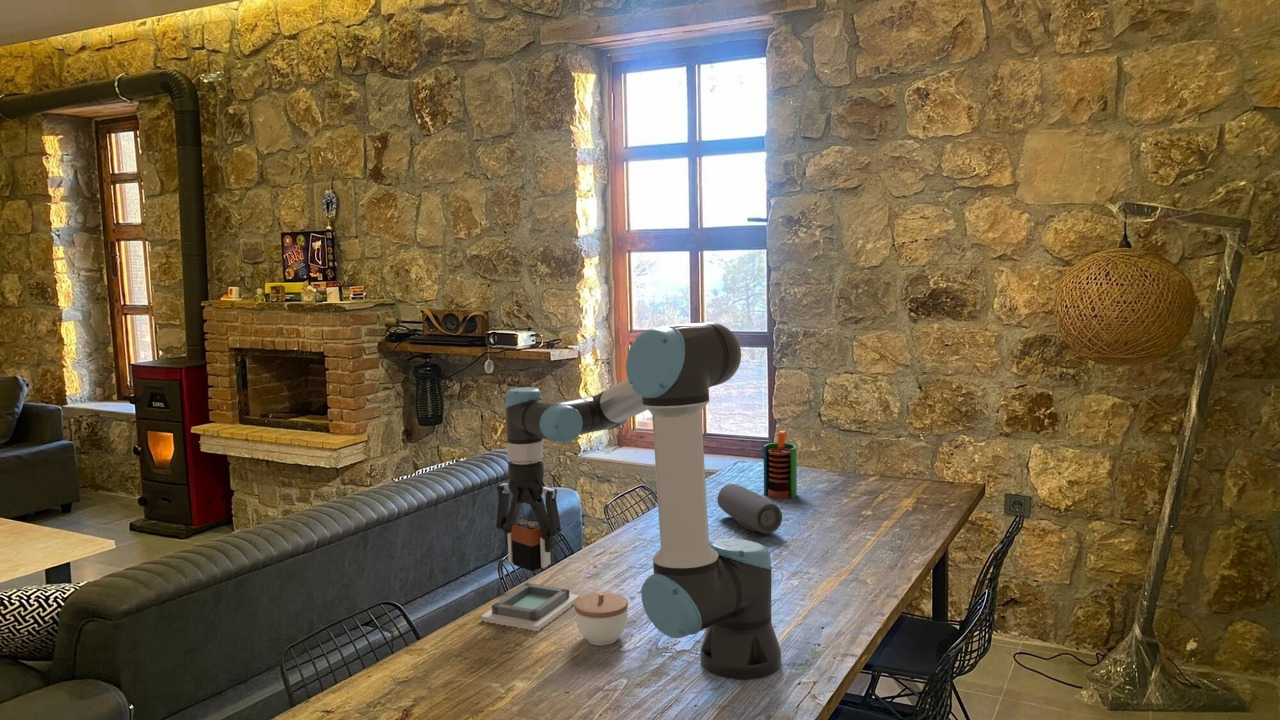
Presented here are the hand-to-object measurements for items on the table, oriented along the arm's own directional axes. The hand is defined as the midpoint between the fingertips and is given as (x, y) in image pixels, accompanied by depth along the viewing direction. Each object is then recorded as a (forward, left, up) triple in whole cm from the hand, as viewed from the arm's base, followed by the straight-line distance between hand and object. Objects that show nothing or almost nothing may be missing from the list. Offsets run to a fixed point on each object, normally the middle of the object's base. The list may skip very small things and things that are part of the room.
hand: (529, 563), depth 198 cm
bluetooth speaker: (+74, -25, -11) cm, 79 cm away
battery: (0, 0, -1) cm, 1 cm away
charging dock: (0, 0, -11) cm, 11 cm away
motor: (+108, -24, -11) cm, 111 cm away
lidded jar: (-7, -21, -11) cm, 25 cm away
